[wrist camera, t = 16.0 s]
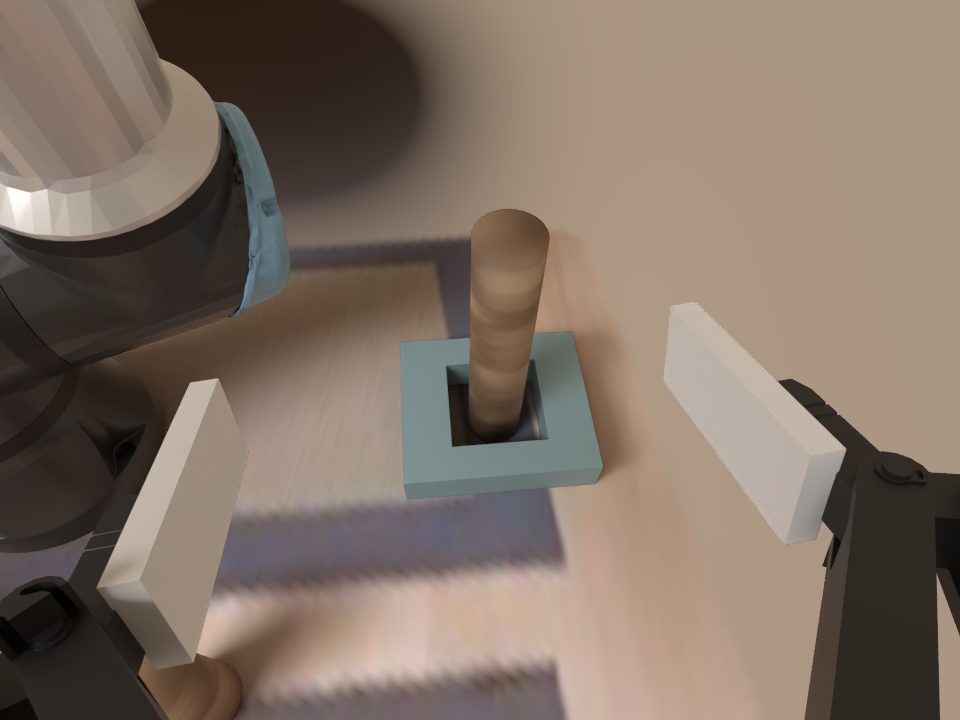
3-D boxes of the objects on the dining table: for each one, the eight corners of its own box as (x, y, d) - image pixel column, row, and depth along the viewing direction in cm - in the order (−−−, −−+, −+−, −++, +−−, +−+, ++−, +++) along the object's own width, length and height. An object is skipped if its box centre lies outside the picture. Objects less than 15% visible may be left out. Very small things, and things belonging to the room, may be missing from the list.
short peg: (164, 690, 36) (84, 673, 28) (227, 648, 37) (167, 621, 30) (187, 754, 34) (109, 755, 26) (252, 708, 35) (196, 696, 28)
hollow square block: (595, 483, 44) (603, 467, 41) (407, 499, 43) (403, 483, 40) (566, 352, 50) (572, 331, 48) (403, 363, 49) (400, 342, 47)
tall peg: (458, 414, 47) (455, 228, 30) (498, 390, 48) (517, 199, 31) (488, 452, 45) (502, 276, 28) (529, 426, 46) (565, 243, 30)
